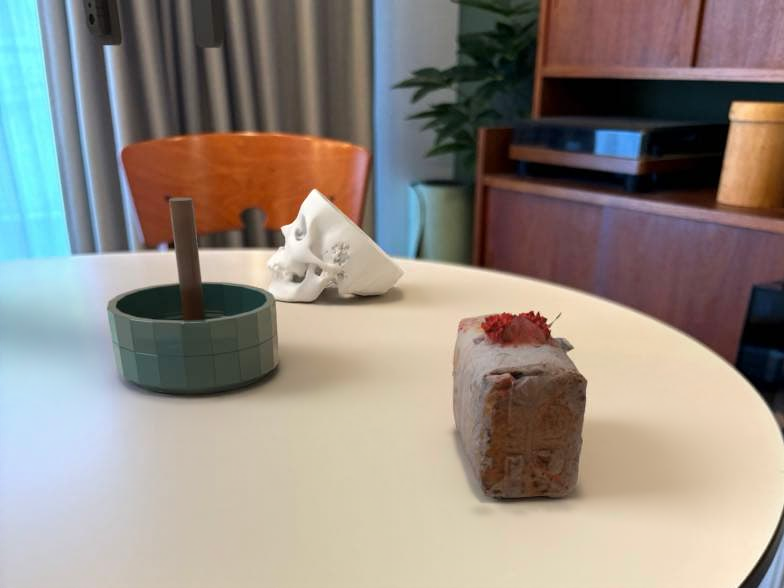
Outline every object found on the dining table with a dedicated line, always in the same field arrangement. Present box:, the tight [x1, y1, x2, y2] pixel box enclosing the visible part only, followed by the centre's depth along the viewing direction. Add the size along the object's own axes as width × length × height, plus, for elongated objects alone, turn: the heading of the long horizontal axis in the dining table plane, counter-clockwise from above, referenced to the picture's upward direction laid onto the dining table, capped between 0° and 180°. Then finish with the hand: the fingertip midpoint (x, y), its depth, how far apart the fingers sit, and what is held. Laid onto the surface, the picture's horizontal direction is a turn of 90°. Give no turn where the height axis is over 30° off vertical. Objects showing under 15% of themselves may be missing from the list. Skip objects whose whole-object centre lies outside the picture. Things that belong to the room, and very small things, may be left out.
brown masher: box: [168, 197, 206, 321], centre depth 67 cm, size 6×6×13 cm
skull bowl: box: [266, 188, 405, 303], centre depth 93 cm, size 10×14×12 cm
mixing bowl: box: [106, 281, 280, 395], centre depth 70 cm, size 13×13×6 cm
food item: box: [452, 310, 589, 500], centre depth 54 cm, size 14×8×10 cm, turn 5°
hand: (161, 46), depth 59 cm, fingers open, 8 cm apart
